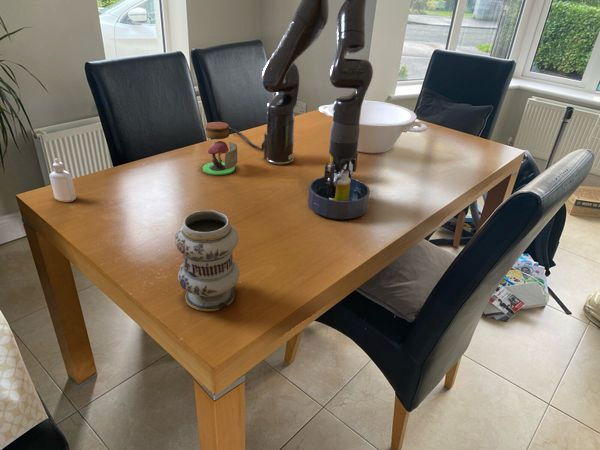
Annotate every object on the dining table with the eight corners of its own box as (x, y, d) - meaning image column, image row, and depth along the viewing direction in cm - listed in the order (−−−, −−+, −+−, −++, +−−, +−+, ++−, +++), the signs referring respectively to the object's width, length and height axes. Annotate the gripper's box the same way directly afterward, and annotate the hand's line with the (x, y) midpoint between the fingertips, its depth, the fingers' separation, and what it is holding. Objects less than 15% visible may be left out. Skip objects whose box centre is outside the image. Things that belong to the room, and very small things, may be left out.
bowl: (296, 208, 128) (297, 189, 125) (327, 188, 140) (328, 171, 137) (349, 228, 120) (351, 208, 117) (377, 205, 132) (380, 186, 129)
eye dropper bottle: (62, 204, 123) (52, 164, 117) (53, 198, 126) (43, 157, 120) (78, 200, 126) (69, 159, 120) (69, 193, 129) (60, 154, 123)
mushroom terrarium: (201, 178, 142) (198, 132, 135) (200, 163, 153) (198, 119, 146) (239, 176, 145) (238, 131, 137) (235, 162, 156) (234, 119, 148)
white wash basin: (434, 146, 180) (440, 113, 174) (405, 173, 155) (411, 135, 148) (337, 124, 199) (340, 93, 192) (297, 145, 173) (298, 110, 167)
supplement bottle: (351, 206, 129) (355, 174, 124) (334, 210, 127) (338, 176, 121) (341, 198, 133) (345, 166, 128) (325, 201, 131) (328, 169, 126)
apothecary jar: (205, 324, 85) (199, 244, 76) (168, 295, 92) (158, 219, 83) (252, 296, 93) (251, 220, 84) (214, 271, 100) (211, 199, 91)
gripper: (345, 128, 127) (339, 180, 135) (318, 141, 116) (314, 197, 124) (369, 134, 123) (361, 187, 131) (343, 147, 113) (337, 205, 121)
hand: (338, 192), depth 128 cm, fingers open, 8 cm apart
